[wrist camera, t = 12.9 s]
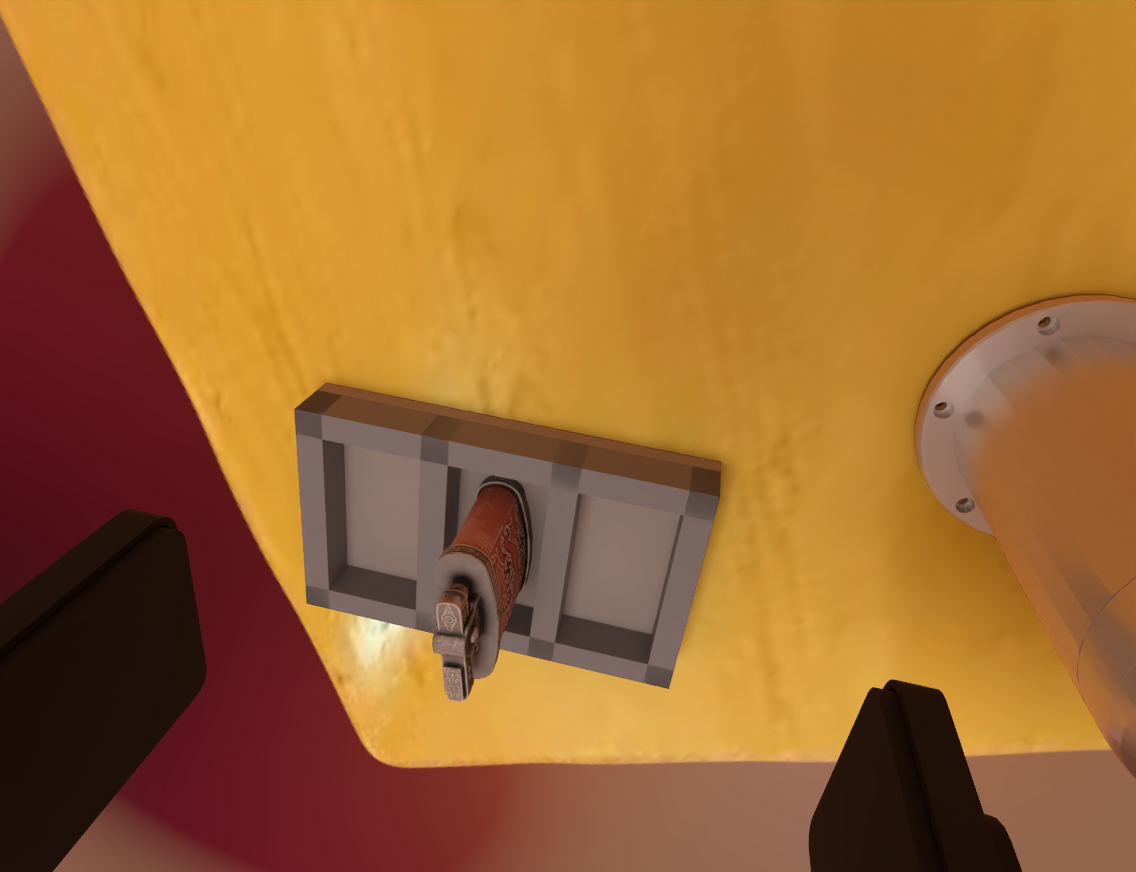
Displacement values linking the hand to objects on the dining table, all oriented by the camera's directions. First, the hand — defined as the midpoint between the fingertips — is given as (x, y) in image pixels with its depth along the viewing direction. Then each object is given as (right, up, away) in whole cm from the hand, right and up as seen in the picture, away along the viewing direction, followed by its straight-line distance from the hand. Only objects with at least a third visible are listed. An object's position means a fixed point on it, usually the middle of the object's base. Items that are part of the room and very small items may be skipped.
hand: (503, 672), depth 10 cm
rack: (-3, -2, +34) cm, 34 cm away
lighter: (-3, -2, +34) cm, 34 cm away
